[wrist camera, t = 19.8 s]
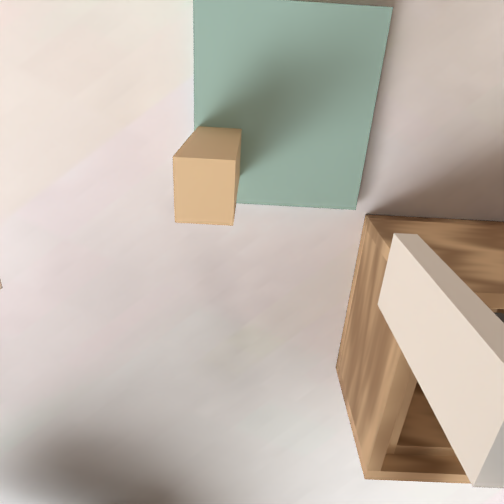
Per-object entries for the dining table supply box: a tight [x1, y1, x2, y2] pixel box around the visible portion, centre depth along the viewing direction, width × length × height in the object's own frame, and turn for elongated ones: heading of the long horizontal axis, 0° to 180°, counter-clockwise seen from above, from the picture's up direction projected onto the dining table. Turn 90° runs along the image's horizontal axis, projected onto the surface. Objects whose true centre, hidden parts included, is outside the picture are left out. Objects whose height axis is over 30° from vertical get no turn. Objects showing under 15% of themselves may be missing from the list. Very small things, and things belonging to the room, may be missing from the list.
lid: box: [173, 0, 393, 226], centre depth 25 cm, size 13×14×12 cm
